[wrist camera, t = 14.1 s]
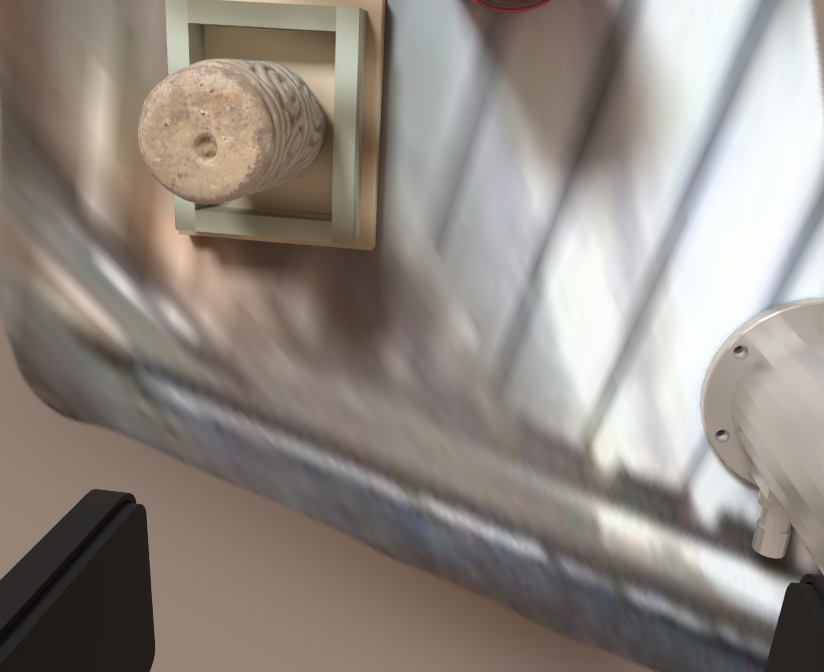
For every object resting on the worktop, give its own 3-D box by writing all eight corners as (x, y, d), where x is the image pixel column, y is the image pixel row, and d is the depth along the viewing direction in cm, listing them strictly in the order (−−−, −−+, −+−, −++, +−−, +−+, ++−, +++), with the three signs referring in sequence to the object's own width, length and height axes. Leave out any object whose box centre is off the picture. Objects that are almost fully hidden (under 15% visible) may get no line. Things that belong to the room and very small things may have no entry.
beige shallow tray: (375, 246, 47) (365, 259, 44) (186, 230, 48) (163, 241, 45) (385, -3, 42) (375, -9, 39) (176, -14, 43) (149, -21, 40)
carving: (361, 118, 43) (309, 134, 32) (273, 209, 46) (196, 253, 34) (280, 32, 42) (198, 17, 31) (195, 129, 45) (89, 148, 33)
